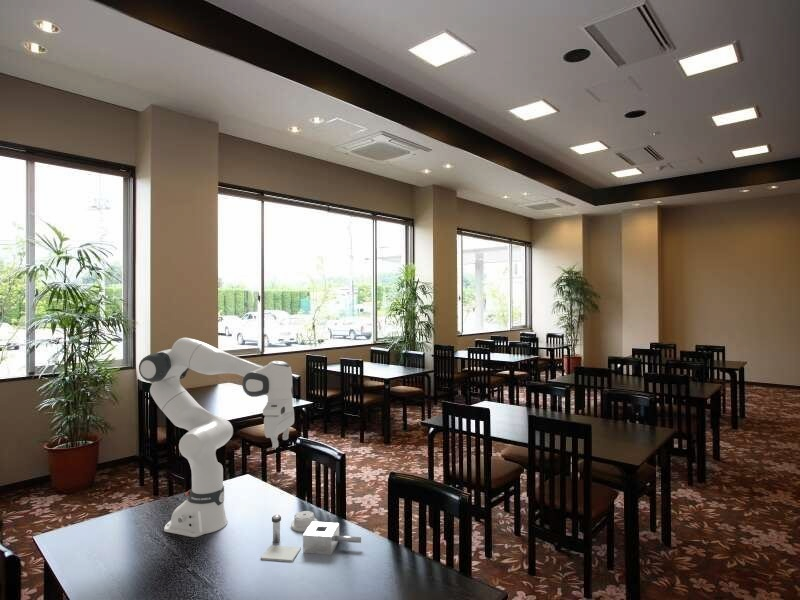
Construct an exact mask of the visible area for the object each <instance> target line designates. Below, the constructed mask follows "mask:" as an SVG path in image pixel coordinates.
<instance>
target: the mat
mask: <svg viewBox="0 0 800 600" xmlns="http://www.w3.org/2000/svg"><path fill="white" fill-rule="evenodd" d="M301 549H302V548H301V547H299V546H286V545H285V546H284V545H273V544H272V545H271V544H270V545H269V547H268V548H267V549H266V550H265V552H264V553H263V554H262V555H261V557H260V560H261V561H262V560H263V561H274V562H275V561H278V562H290V563H293V561H294V560H295V559H296V558H297V556H298V554H299V553H300V551H301Z"/></svg>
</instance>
